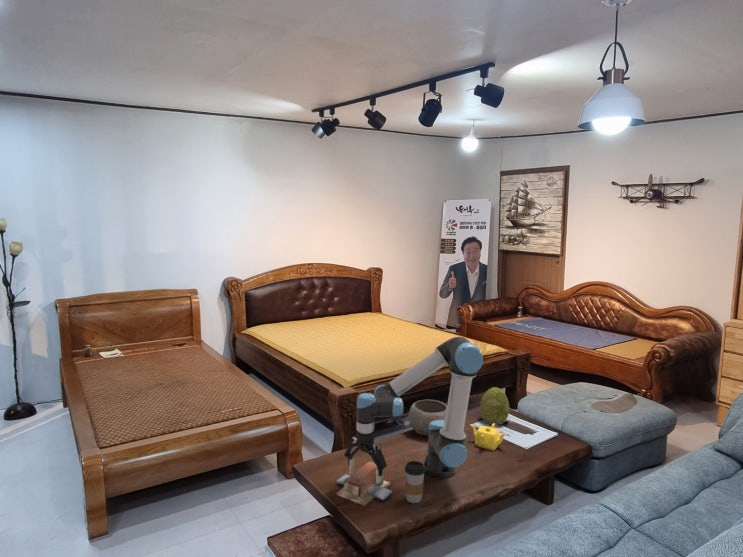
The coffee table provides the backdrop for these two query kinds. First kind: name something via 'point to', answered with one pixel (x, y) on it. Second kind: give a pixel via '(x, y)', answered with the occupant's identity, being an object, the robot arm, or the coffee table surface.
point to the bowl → (426, 414)
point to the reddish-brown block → (364, 475)
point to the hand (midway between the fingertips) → (364, 477)
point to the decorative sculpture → (494, 406)
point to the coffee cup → (414, 481)
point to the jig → (363, 490)
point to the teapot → (487, 437)
